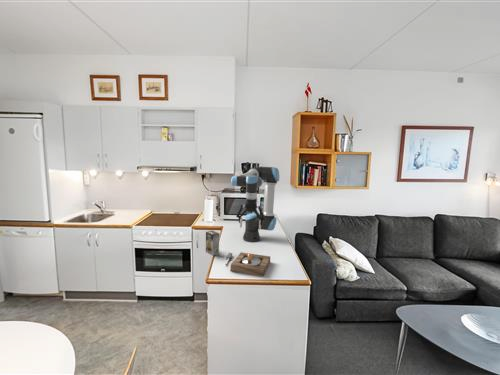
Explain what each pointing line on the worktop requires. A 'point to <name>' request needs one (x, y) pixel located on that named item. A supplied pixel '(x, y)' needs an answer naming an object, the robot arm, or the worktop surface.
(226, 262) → the screwdriver
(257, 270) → the housing
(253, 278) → the worktop surface
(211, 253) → the coffee box
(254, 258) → the dial
